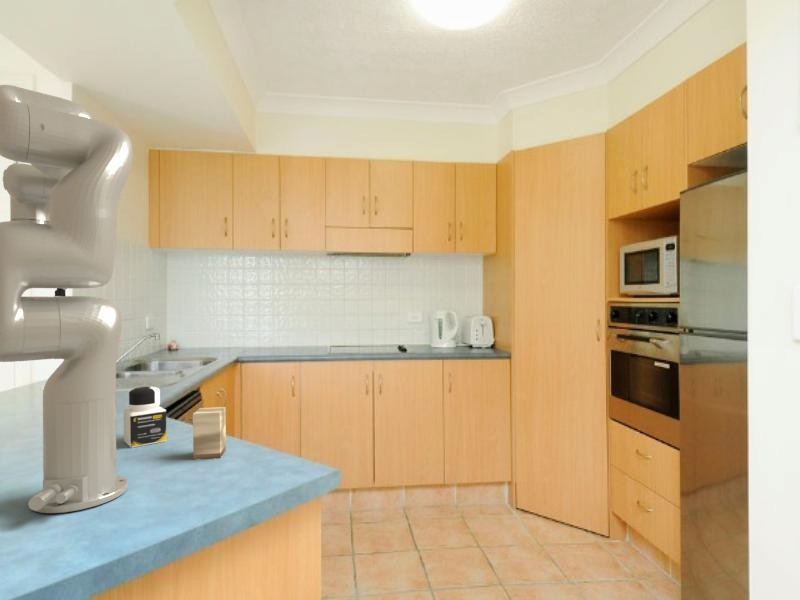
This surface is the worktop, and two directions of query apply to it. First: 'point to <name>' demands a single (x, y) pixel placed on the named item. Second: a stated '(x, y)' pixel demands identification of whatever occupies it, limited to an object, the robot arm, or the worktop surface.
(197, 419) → the birch block
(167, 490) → the worktop surface
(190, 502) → the worktop surface
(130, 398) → the medicine bottle
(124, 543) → the worktop surface
